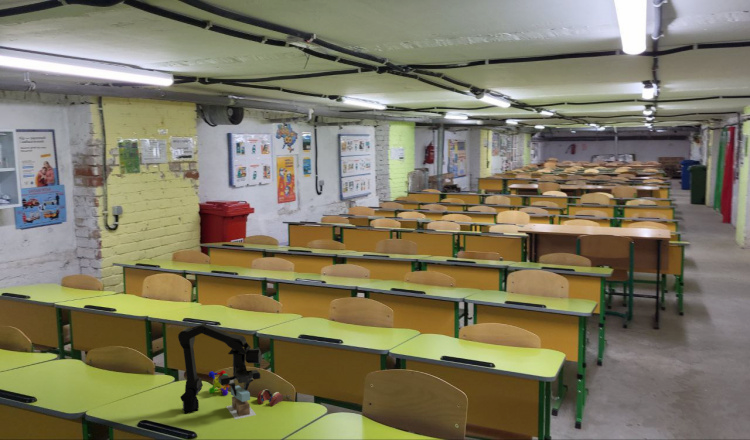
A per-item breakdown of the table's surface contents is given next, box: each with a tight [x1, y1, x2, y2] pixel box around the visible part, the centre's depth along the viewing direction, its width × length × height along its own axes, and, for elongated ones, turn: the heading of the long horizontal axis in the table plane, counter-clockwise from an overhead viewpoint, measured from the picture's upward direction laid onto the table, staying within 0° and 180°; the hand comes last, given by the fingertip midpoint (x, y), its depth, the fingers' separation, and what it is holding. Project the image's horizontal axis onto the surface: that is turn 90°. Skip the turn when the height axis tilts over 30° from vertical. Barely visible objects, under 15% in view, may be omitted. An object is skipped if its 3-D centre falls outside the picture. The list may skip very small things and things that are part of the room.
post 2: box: [236, 400, 251, 417], centre depth 277 cm, size 5×5×5 cm
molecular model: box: [208, 370, 230, 396], centre depth 304 cm, size 12×7×12 cm, turn 64°
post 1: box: [231, 396, 241, 410], centre depth 284 cm, size 5×5×5 cm
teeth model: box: [256, 389, 284, 407], centre depth 291 cm, size 8×6×12 cm
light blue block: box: [230, 385, 251, 402], centre depth 280 cm, size 12×4×4 cm, turn 39°
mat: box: [225, 404, 257, 420], centre depth 281 cm, size 10×17×1 cm, turn 28°
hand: (240, 394), depth 280 cm, fingers closed on light blue block, 4 cm apart
